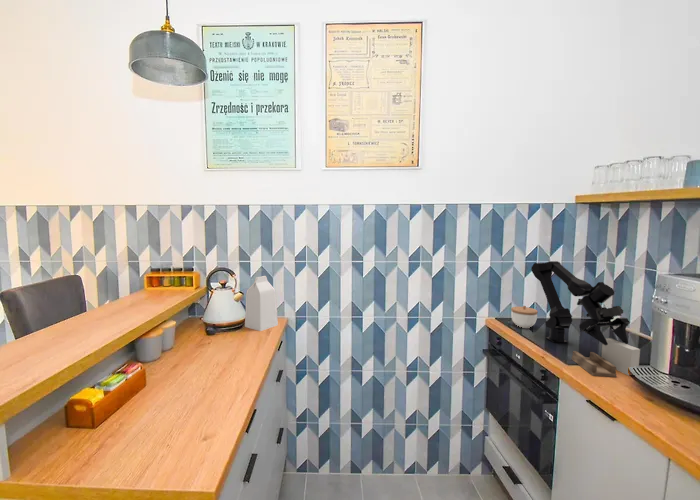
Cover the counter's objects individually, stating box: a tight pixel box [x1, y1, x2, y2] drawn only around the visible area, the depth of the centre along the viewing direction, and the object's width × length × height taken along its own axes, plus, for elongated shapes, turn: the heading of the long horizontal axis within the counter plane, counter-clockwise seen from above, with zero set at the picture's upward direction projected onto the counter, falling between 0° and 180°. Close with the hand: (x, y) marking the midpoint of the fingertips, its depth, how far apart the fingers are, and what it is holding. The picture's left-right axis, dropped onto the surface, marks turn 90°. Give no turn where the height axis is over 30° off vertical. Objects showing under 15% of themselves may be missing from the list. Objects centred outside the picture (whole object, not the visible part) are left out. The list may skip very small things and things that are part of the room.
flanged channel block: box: [571, 350, 617, 378], centre depth 133 cm, size 15×8×4 cm, turn 173°
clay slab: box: [600, 337, 641, 377], centre depth 132 cm, size 12×4×10 cm, turn 10°
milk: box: [244, 275, 279, 332], centre depth 179 cm, size 12×12×26 cm
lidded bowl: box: [510, 305, 539, 329], centre depth 185 cm, size 13×13×11 cm
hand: (616, 344), depth 134 cm, fingers open, 9 cm apart
